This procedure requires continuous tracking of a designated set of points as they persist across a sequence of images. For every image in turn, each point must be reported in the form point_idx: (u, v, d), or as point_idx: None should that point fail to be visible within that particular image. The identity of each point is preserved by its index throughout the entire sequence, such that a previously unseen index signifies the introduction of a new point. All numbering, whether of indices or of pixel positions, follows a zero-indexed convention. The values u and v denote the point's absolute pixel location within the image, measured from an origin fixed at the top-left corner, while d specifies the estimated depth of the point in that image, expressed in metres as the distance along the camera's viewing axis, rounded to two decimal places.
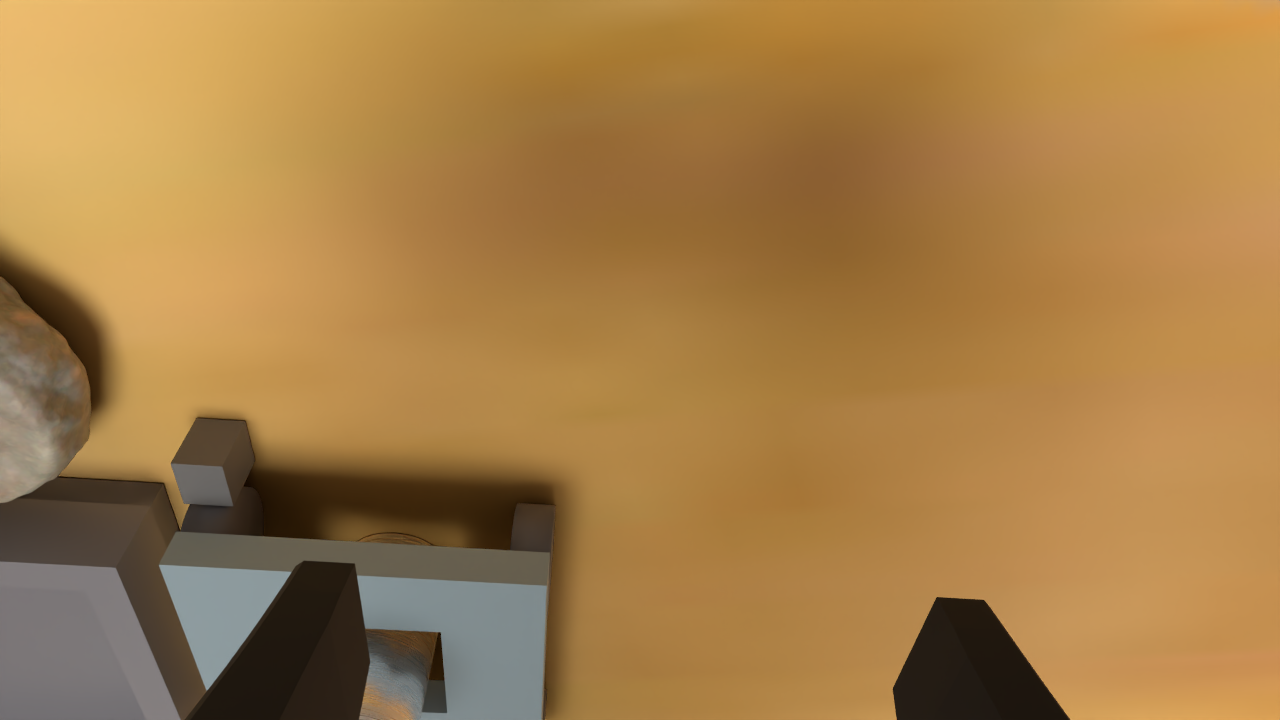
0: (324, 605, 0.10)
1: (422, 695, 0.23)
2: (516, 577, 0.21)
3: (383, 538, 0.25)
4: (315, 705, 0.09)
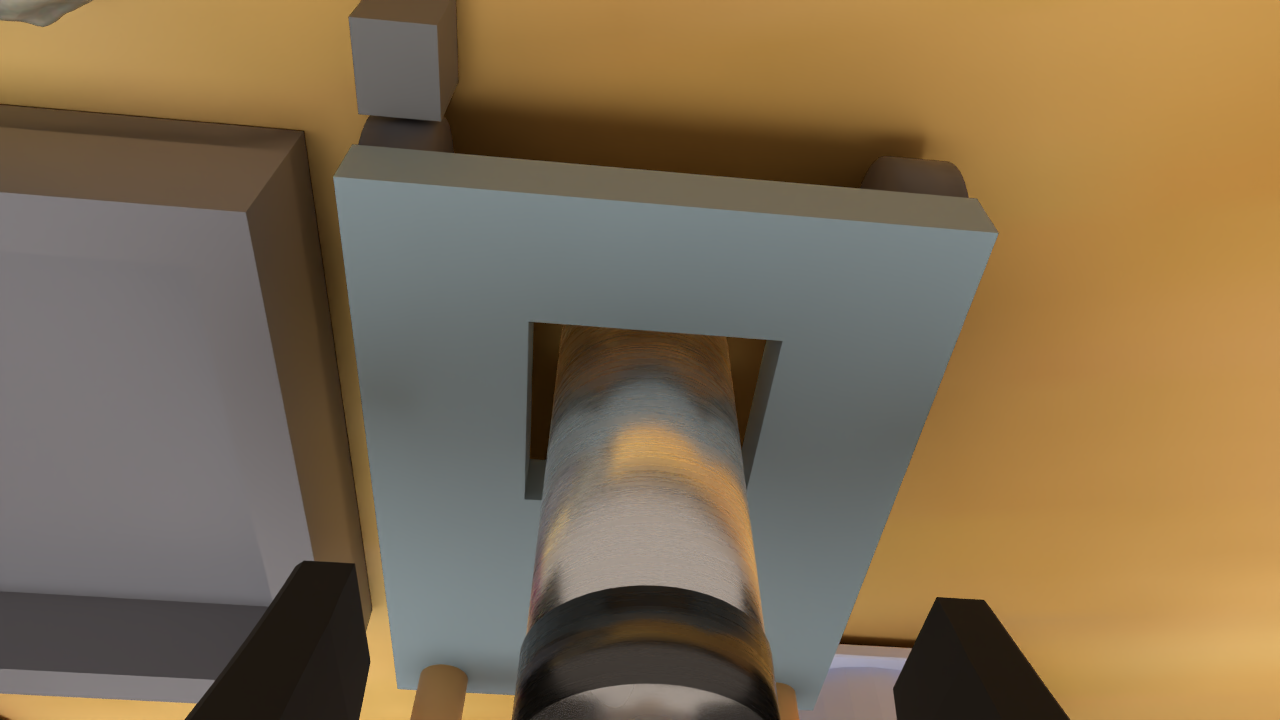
0: (324, 605, 0.10)
1: None
2: (942, 221, 0.12)
3: None
4: (315, 705, 0.09)
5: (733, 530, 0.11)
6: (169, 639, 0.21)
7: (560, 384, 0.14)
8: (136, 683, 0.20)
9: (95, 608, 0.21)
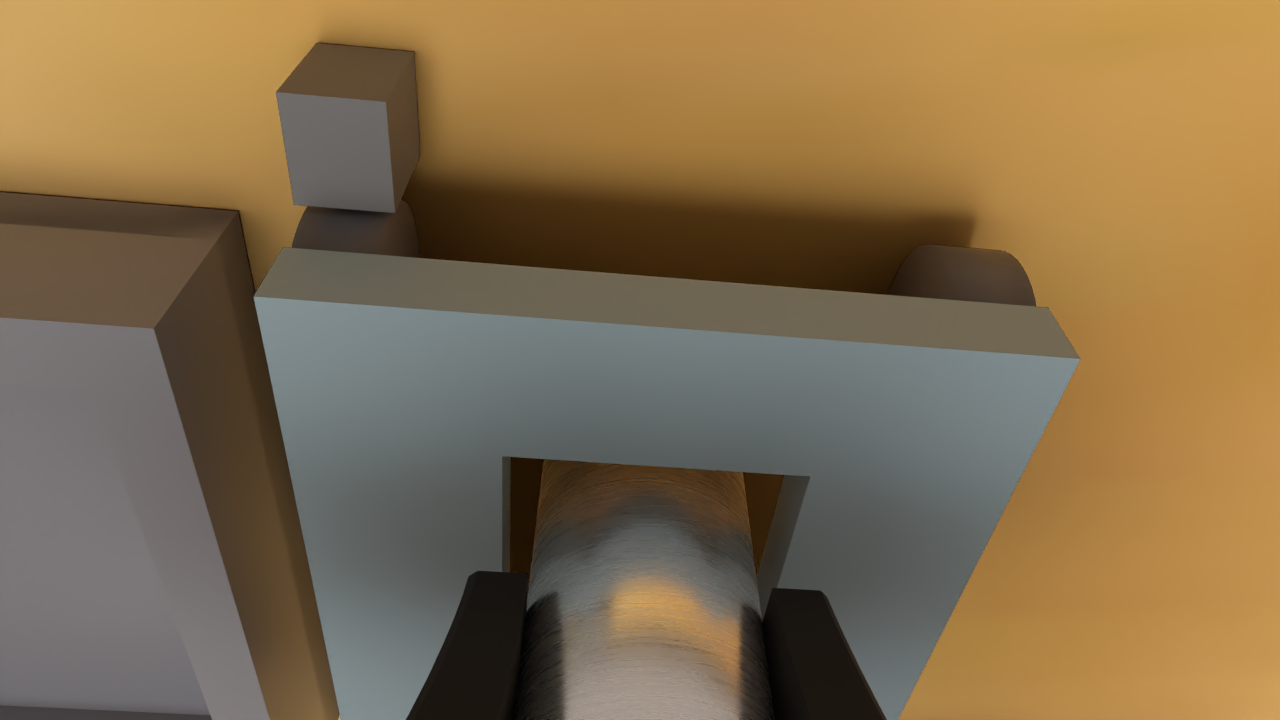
0: (510, 615, 0.10)
1: (759, 608, 0.12)
2: (1010, 343, 0.10)
3: None
4: (507, 714, 0.10)
5: None
6: None
7: (542, 519, 0.12)
8: None
9: None
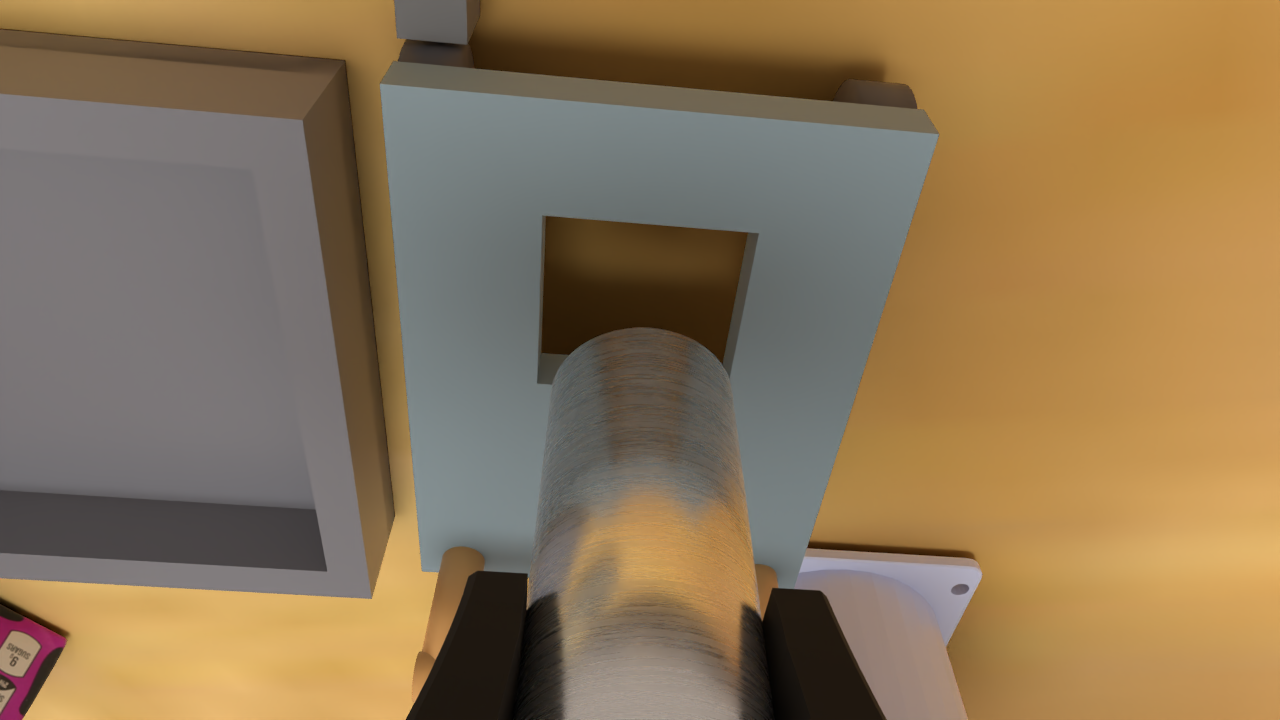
0: (510, 615, 0.10)
1: None
2: (892, 125, 0.15)
3: (633, 335, 0.14)
4: (508, 714, 0.10)
5: None
6: (214, 534, 0.23)
7: (542, 519, 0.12)
8: (186, 571, 0.22)
9: (147, 508, 0.23)
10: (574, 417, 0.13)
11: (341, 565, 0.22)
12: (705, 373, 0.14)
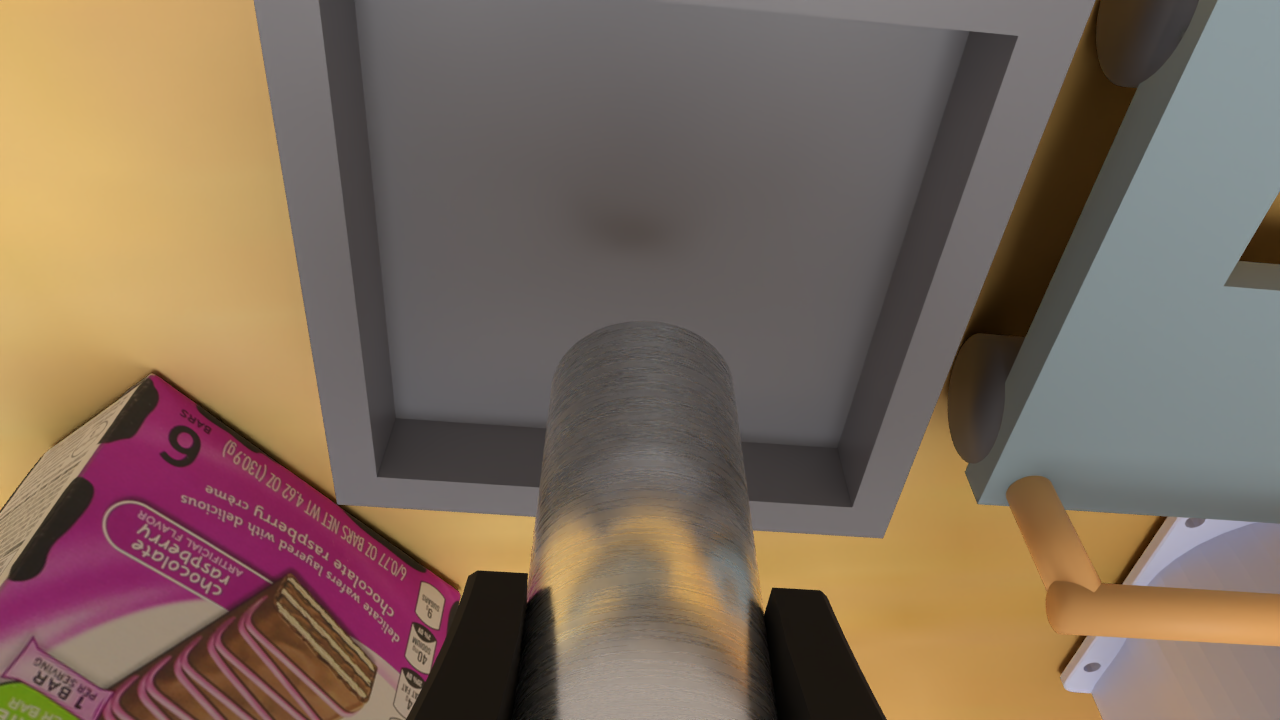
0: (510, 615, 0.10)
1: (761, 605, 0.11)
2: None
3: (638, 327, 0.14)
4: (507, 714, 0.10)
5: None
6: None
7: (545, 509, 0.12)
8: None
9: None
10: (579, 408, 0.13)
11: (871, 500, 0.21)
12: (710, 369, 0.14)
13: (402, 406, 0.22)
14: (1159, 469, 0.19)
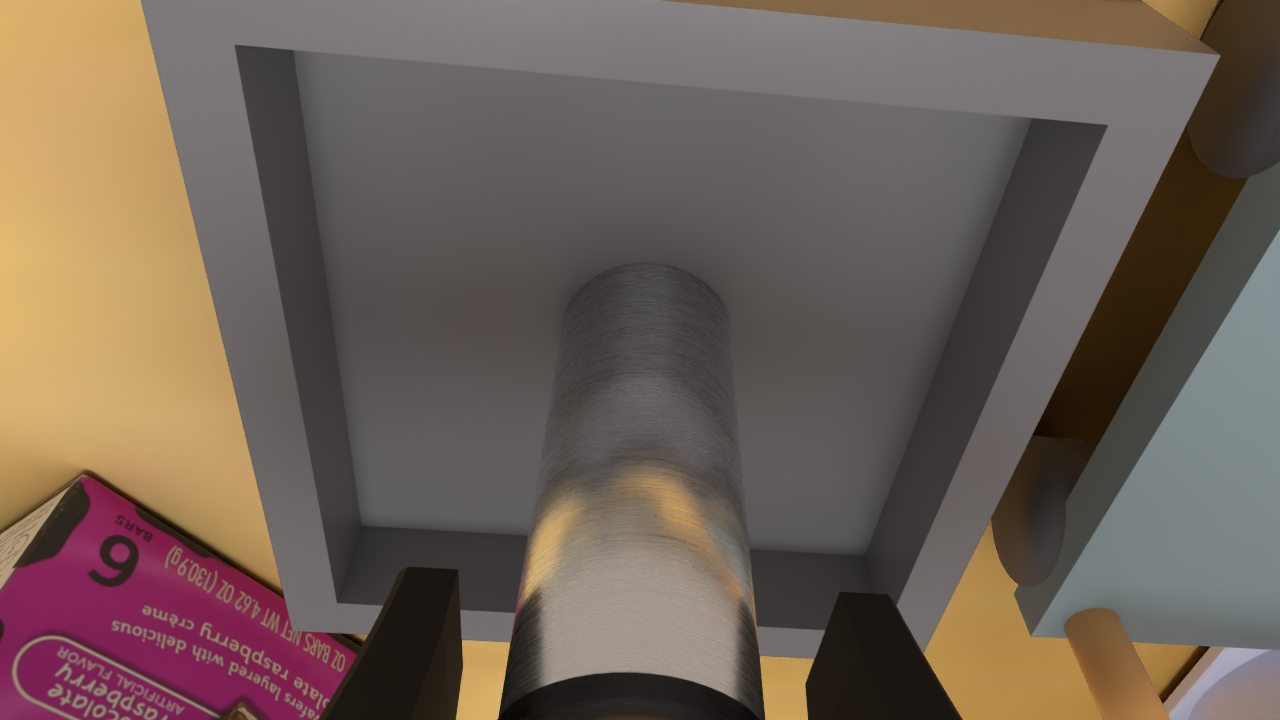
0: (436, 611, 0.10)
1: None
2: None
3: (641, 269, 0.15)
4: (431, 711, 0.10)
5: (735, 605, 0.10)
6: None
7: (552, 421, 0.13)
8: None
9: None
10: (584, 336, 0.14)
11: None
12: (706, 308, 0.15)
13: (368, 513, 0.19)
14: (1243, 601, 0.17)
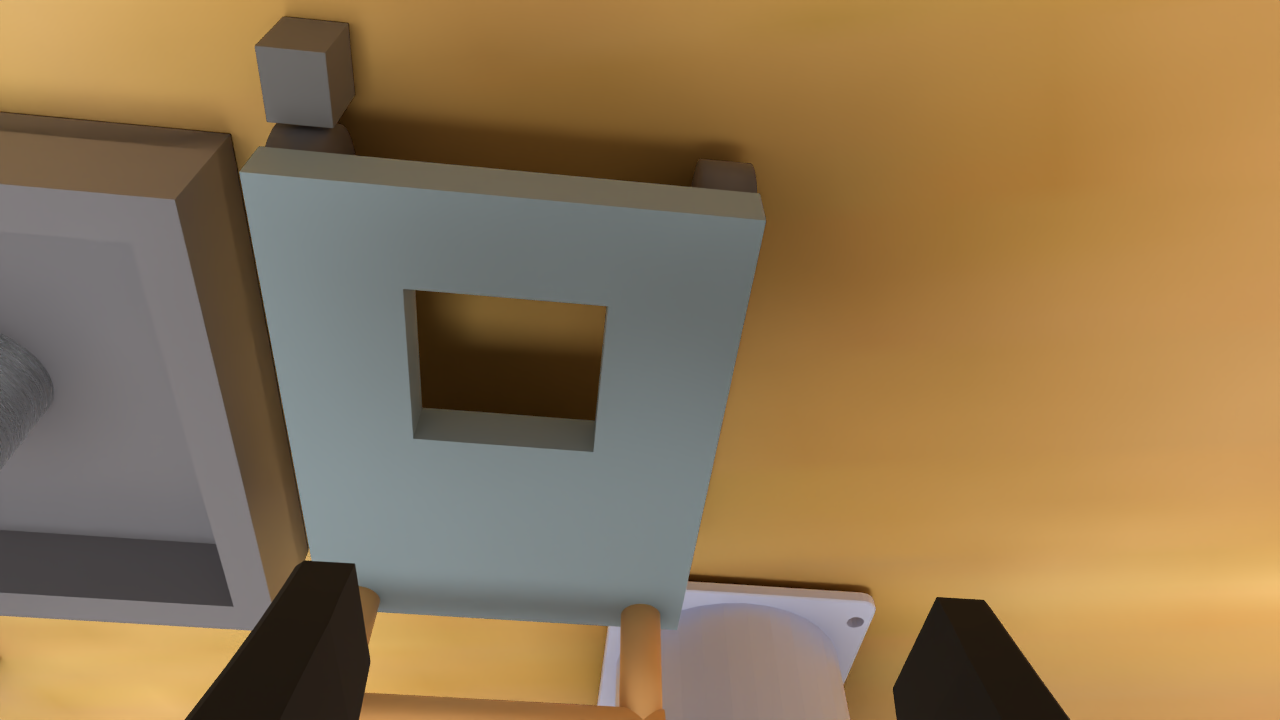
0: (324, 605, 0.10)
1: None
2: (723, 210, 0.16)
3: None
4: (315, 705, 0.09)
5: None
6: (127, 569, 0.24)
7: None
8: (98, 605, 0.23)
9: (64, 543, 0.24)
10: None
11: (246, 601, 0.23)
12: None
13: None
14: (462, 581, 0.22)
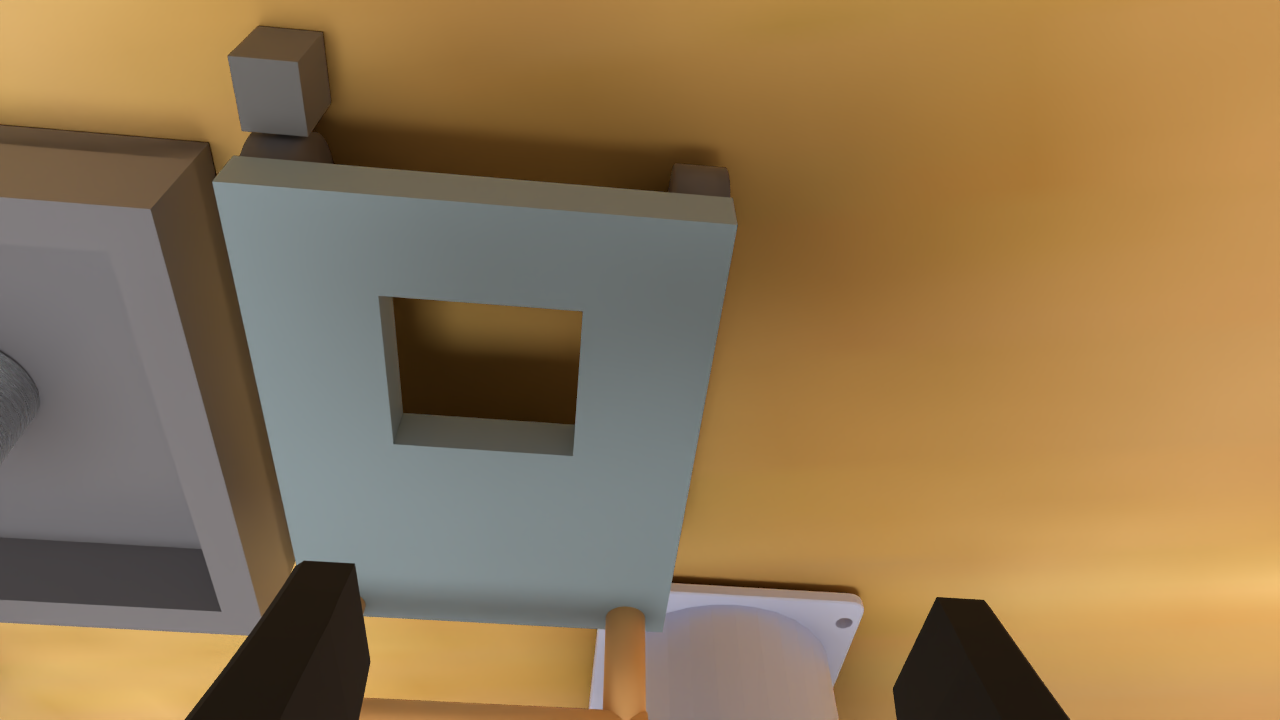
0: (324, 605, 0.10)
1: None
2: (695, 215, 0.16)
3: None
4: (315, 705, 0.09)
5: None
6: (116, 575, 0.24)
7: None
8: (87, 611, 0.23)
9: (53, 549, 0.24)
10: None
11: (234, 606, 0.23)
12: None
13: None
14: (447, 585, 0.22)
